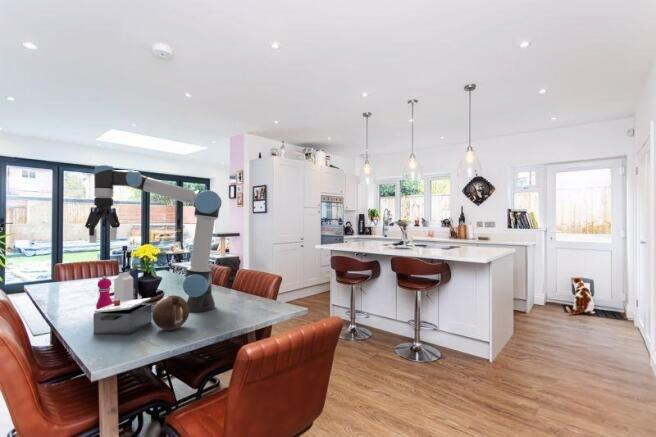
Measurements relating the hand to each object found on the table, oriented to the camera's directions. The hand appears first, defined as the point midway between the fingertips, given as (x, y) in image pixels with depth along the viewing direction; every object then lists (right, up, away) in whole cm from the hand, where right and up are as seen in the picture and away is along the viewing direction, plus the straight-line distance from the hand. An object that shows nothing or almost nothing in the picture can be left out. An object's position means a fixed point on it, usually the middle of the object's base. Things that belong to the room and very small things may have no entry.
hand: (103, 241), depth 157 cm
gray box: (+15, -39, -9) cm, 43 cm away
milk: (+3, -39, +11) cm, 40 cm away
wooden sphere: (+37, -39, -10) cm, 55 cm away
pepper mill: (-8, -39, +12) cm, 41 cm away
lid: (+16, -29, -9) cm, 34 cm away
